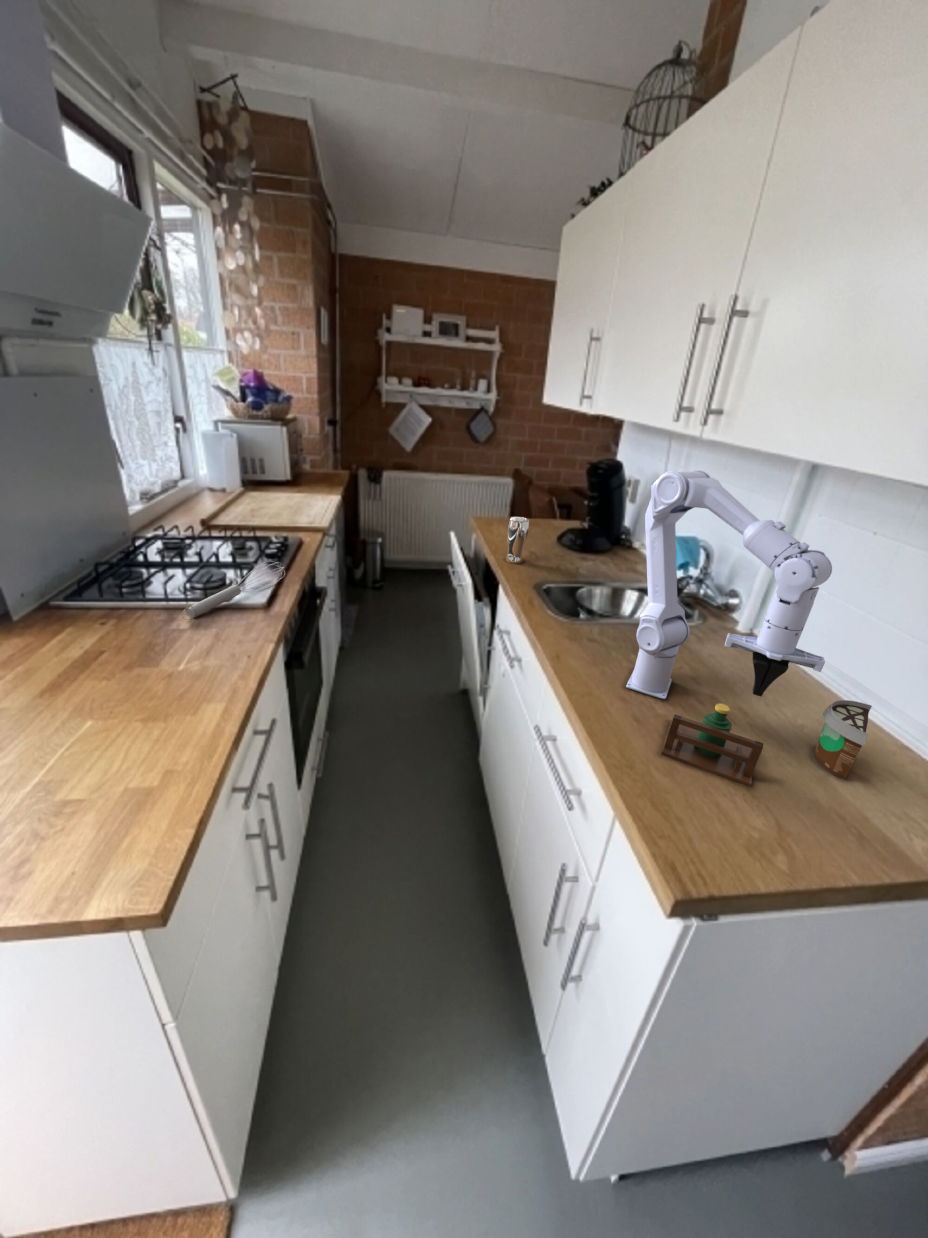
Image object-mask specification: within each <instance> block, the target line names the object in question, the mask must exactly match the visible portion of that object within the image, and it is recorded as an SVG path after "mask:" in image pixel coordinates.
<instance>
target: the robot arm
mask: <svg viewBox="0 0 928 1238" xmlns="http://www.w3.org/2000/svg"><path fill="white" fill-rule="evenodd" d="M695 508H696V509H697V508H698V509H699V508H700V509H706V510H708V511H710V512H711V513H712V514H714V515H715V516H716V517H718V518H719V519H720V520H722V521H723V522H724V523H725V524H727V525H729V526H730V527H731V528H732V529H734V530H735V531H736V532H737V533H738V534H740V535H742V536H743V537H742V539H743V541H742V543H743V548H745V549H747V550H748V552H750V553H751V554H752V555H753V556H755V557H756V558H757V559H758V561H759V560H760V562H762V564H764V565H765V566H766V567H767V568H769V569H770V570H771V571H772V572H774V579H775V582H776V587H775V590H774V592H773V594H772V597H771V599H770V602H769V605H768V608H767V610H766V614H765V616H764V618H763V620H762V624H761V626H760V629H759V632H758V634H757V636H747V635H741V634H734V633H730V632H728V633H727V635H726V639H725V642H724V647H725V648H728V649H732V648H734V649H738V650H742V651H745V652H748V653H749V652H750V653H752V665H753V672H754V682H753V687H752V695H754V696H756V697H757V696H758V697H760V698H761V697H762V696H763V695H764V693H765V691H766V690H767V689H768V688H769V686H771V685H772V684H773V682H774V681H776V680H777V679H778V678H780V677H781V676H783V675H784V674H786V672H787V671H788V669H789V664H790V663H791V664H795V665H798V666H802V667H806V668H810V669H812V670H813V671H815V672H818V673H821V672H822V670H823V668H824V666H825V663H826V660H825V657H824V656H821V655H818V654H815V653H811V652H808V651H806V650H803V649H801V648H797V646H798V643H799V641H800V638H801V635H802V634H803V631H804V628H805V626H806V624H807V621H808V618H809V617H810V613H811V611H812V609H813V606H814V604H815V600H816V598H817V595H818V592H819V590H820V587H819V586H821V585H822V584H824V583H826V582H827V581H828V580H829V579H830V577H831V575H832V573H833V565H832V562H831V560H830V559H829V557H828V556H827V555H826V553H825V552H823V551H822V550H818V549H809V548H810V544H808V543H807V542H806V541H804V542H801V541H799V539H797V538H795V536H793V535H792V534H791V533H790V532H788V531H787V530H785V529H786V527H787V525H786V524H785V523H783V521H774V520H772V519H765V520H760V519H759V518H758V517H757V516H756V515H755V514H754V513H752V511H750V510H749V509H748V508H747V507H745V506H744V504H742V503H741V502H740V501H739V500H738V499H737V498H736V497H735V496H734V495H732V494H731V493H730V492H729V491H728V490H727V489H726V488H725V487H724V486H723V485H722V483H720V481H719V480H718V479H717V478H714V477H711V475H710V474H709V473H708V472H706V471H705V470H699V469H698V470H692V471H690V470H689V471H676V470H669V471H666V472H664V473H662V474H661V475H660V476H659V477H658V478H657V479H656V480H655V481H654V482H653V483H652V484H651V486H650V500H649V502H648V506H647V509H646V511H645V514H644V515H645V516H644V521H645V522H644V525H645V526H644V527H645V530H644V531H645V553H646V557H645V558H646V577H647V578H646V579H647V580H646V581H647V605H646V607H645V608H644V609H643V611H642V612H641V614H640V615H639V625H638V626H637V627H638V628H637V630H636V641H637V644H638V648H639V649H638V653H637V658H636V661H635V665H634V668H633V671H632V673H631V675H630V677H629V679H628V680H627V683H626V685H625V687H626V688H627V689H629V690H633V691H636V692H639V693H642V694H645V695H648V696H651V697H655V698H658V699H661V700H666V699H667V696H668V694H669V690H670V687H671V684H672V681H673V679H672V678H671V676H672V672H673V670H674V666H675V663H676V659H677V655H678V652H679V649H680V645H682V644H684V643H686V642H687V640H688V639H689V637H690V634H691V633H690V632H691V631H690V625H689V623H688V621H687V619H686V613H685V612H686V611H685V609H684V608H683V607H682V606H681V605H680V604H679V602H678V578H677V577H678V571H677V538H676V537H677V536H676V524H677V522H678V521H679V520H680V519H681V518H683V516H685V514H686V513H688V512H689V511H691V510H693V509H695Z"/></svg>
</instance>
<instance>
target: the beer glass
mask: <svg viewBox="0 0 928 1238" xmlns="http://www.w3.org/2000/svg"><path fill="white" fill-rule="evenodd" d="M529 523H530V519H529V518H527V517H523V516H510V517H509V520H508V525H507V535H506V536H507V538H506V539H507V552H506V556H505V560H504V561H505V562H507V563H509V564H522V563H523V553H524V548H525V545H526V542H527V538H528V533H529V525H530V524H529ZM512 560H513V561H512ZM520 560H521V561H520Z"/></svg>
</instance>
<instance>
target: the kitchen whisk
mask: <svg viewBox="0 0 928 1238" xmlns="http://www.w3.org/2000/svg"><path fill="white" fill-rule="evenodd" d="M265 563H268V565H266V564H265ZM269 563H270V560H268V561H264V562H262V563H260V564H259V565H257V566H256V567H254V568H253V569H252V570H250V572H249V573H247V574H246V575H245V576H244V577H243V578H242V579H241V580H240V581H239V582H238V583H237V584H233V585H231V586H229V587H227V588H224V589H223V590H221V591H219V592H217V593H214V594H213V595H211V596H208V597H205V599H204V598H203V600H200V601H199V602H196V603H194V604H192V605H190V606H187V607H186V608H185V610H183V611H182V612H181V618H182V620H187V621H189V620H193V619H194V618H195V617H198V616H200V615H202V614H204V613H206V612H208V611H210V610H212V609H214V608H216V607H218V606H219V605H222V604H224V603H226V602H227V601H229V600H232V599H234V598H235V597H237V596H239V595H241V593H242V592H243V593H247V592H250V590H251V592H254V591H256V589H257V588H258V589H257V591H260V590H264V589H267V588H270V587H272V586H274V585H275V584H277V583H278V582H279V581H280V580H281V579H283V578H284V577H285V575H286V571H285V570H283V569H285V566H282V563H281V562H279V561H273V560H271V563H270V564H269ZM263 564H264V565H263ZM274 565H275V567H278V568H274V569H272V570H269V571H267V572H265V573H263V574H260V575H259V576H257V577H254V576H255V575H257V574H258V573H260V572H261V571H264V569H266V568H269V567H270V566H274ZM262 567H263V568H262ZM260 568H262V569H260ZM258 569H260V570H259V571H257V570H258ZM275 570H277V571H275ZM255 571H257V572H256V573H255V574H253V575H252V576H250V577H248V576H249V575H251V574H252V573H253V572H255ZM273 571H274V572H273ZM282 571H283V572H282ZM270 572H273V573H271V574H269V575H267V576H265V577H263V578H260V577H261V576H264V575H265V574H268V573H270ZM279 573H280V578H278V579H277V580H275V581H273V582H271V581H272V580H273V578H271V579H269V580H268V581H266V582H264V583H261V584H260V585H257V586H254V587H250V588H247V589H246V590H245V589H244V588H245V587H248V586H250V585H253V584H254V583H257V582H260V581H261V580H263V579H266V578H268V577H271V576H272V575H275V576H274V578H276V577H277V576H278V574H279ZM283 573H284V574H283ZM282 575H283V576H282ZM247 577H248V579H246V580H245V578H247ZM253 577H254V578H253ZM251 578H253V579H251ZM257 578H260V579H258V580H256V579H257ZM250 579H251V580H250ZM244 580H245V581H244ZM254 580H256V581H254ZM242 581H244V582H242ZM252 581H254V582H252ZM251 582H252V583H251ZM269 582H270V583H269ZM248 583H249V584H248ZM268 585H269V586H268ZM264 586H266V587H264ZM261 587H263V588H261ZM241 589H243V590H241ZM253 589H254V590H253ZM184 612H185V613H186V615H187V616H188V617H189V618H184V616H183V613H184Z"/></svg>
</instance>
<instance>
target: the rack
mask: <svg viewBox="0 0 928 1238" xmlns="http://www.w3.org/2000/svg"><path fill="white" fill-rule="evenodd" d="M699 731H701V732H704V733H707V734H710V735H713V736H716V737H719V738H722V739H725V740H727V741H726V744H725V746H724V747H722V746H719V745H716V744H713V743H710V742H707V741H704V740H701V739H698V738H697V736H698V733H699ZM695 746H698V747H701V748H703V749H706V750H709V751H712V752H715V753H718V754H721V756H720V757H716V758H713V757H708V756H705V755H703V754H701V753H700V752H699V751H698V750H697V749H696V748H695ZM763 749H764V742H761V741H758V740H754V739H751V738H748V737H745V736H742V735H739V734H736V733H732V732H731V731H730V732H727V731H724V730H721V729H718V728H715V727H711V726H708V725H705V724H702V722H699V721H696V720H693V719H690V718H688V717H687V718H686V717H684V716H682V715H679V714H676V713H674V714H673V717H672V720H671V719H670V721H669V724H668V728H667V732H666V734H665V738H664V741H663V745H662V749H661V752H660V755H661V756H665V757H667V758H668V757H669V758H670V759H673V760H676V761H679V762H681V763H684V764H686V765H690V766H692V767H695V768H698V769H701V770H703V771H706V772H709V773H712V774H715V775H717V776H720V777H723V778H726V779H729V780H730V781H734V782H737V783H740V784H743V785H745V786H747V787H751V786H752V783H753V773H754V771H755V768H756V767H757V764H758V761H759V759H760V757H761V754H762V752H763Z"/></svg>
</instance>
